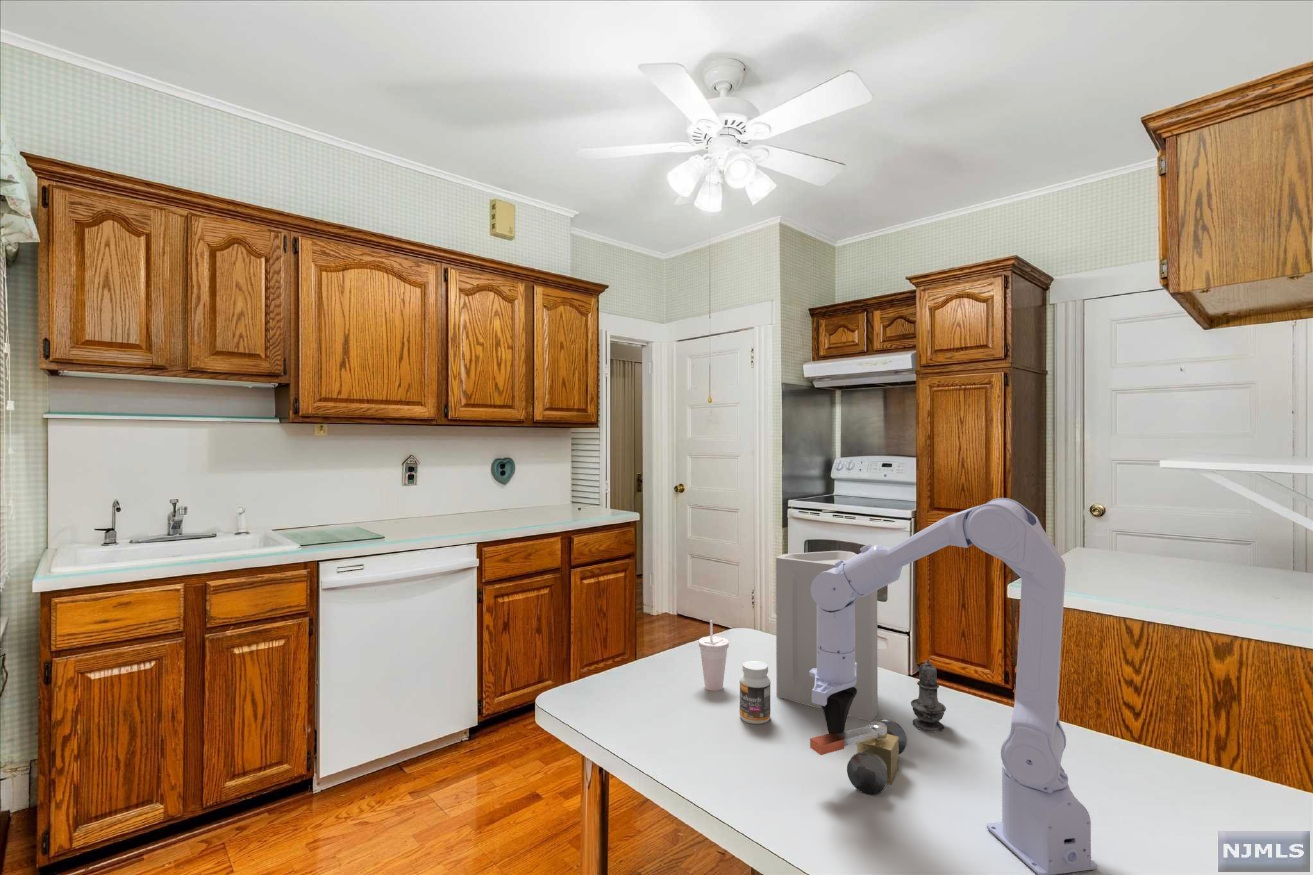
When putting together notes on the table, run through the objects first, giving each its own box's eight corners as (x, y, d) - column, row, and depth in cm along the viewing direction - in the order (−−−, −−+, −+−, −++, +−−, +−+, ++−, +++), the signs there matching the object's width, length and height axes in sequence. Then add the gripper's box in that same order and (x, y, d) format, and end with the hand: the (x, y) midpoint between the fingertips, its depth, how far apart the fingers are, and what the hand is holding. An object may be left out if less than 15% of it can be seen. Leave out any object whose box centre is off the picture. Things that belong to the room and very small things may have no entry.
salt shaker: (950, 734, 108) (949, 666, 108) (914, 731, 109) (914, 663, 109) (941, 719, 114) (941, 654, 114) (907, 716, 115) (907, 652, 115)
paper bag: (893, 693, 125) (892, 556, 125) (871, 721, 113) (870, 569, 113) (803, 673, 136) (803, 546, 136) (774, 696, 124) (774, 557, 124)
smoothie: (693, 684, 130) (692, 618, 130) (719, 678, 133) (719, 614, 133) (708, 695, 124) (707, 626, 124) (735, 689, 127) (734, 622, 127)
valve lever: (878, 729, 98) (878, 720, 98) (890, 736, 95) (890, 727, 95) (809, 747, 92) (809, 738, 92) (821, 755, 90) (821, 746, 90)
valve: (885, 800, 88) (885, 761, 88) (846, 788, 92) (846, 750, 92) (906, 757, 100) (906, 723, 100) (871, 748, 103) (871, 714, 103)
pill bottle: (735, 721, 113) (735, 667, 113) (745, 708, 118) (745, 657, 118) (765, 727, 111) (764, 672, 111) (774, 715, 116) (774, 662, 116)
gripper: (827, 629, 103) (827, 710, 103) (792, 655, 91) (792, 746, 91) (870, 638, 99) (869, 722, 99) (838, 665, 87) (838, 761, 87)
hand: (835, 734), depth 95 cm, fingers closed, pressing on valve lever
